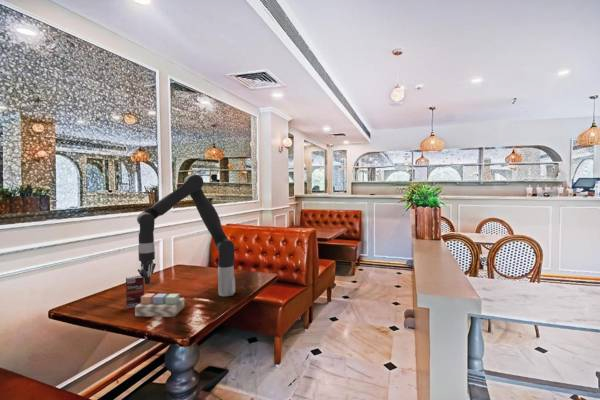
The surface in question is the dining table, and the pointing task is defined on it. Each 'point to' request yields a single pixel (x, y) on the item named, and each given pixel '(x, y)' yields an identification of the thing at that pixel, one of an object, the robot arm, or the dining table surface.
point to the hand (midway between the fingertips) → (147, 283)
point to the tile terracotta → (147, 299)
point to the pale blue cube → (159, 299)
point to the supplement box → (134, 290)
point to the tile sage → (172, 299)
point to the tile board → (159, 309)
